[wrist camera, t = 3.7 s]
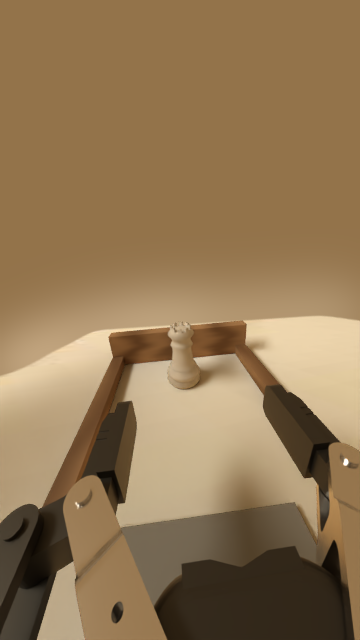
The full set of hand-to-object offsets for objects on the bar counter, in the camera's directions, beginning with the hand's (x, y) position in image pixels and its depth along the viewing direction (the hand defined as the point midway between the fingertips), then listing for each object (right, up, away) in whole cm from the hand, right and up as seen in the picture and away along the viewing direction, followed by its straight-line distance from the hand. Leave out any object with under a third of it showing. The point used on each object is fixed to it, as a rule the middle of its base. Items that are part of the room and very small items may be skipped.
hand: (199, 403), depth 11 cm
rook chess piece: (-1, -3, +14) cm, 15 cm away
